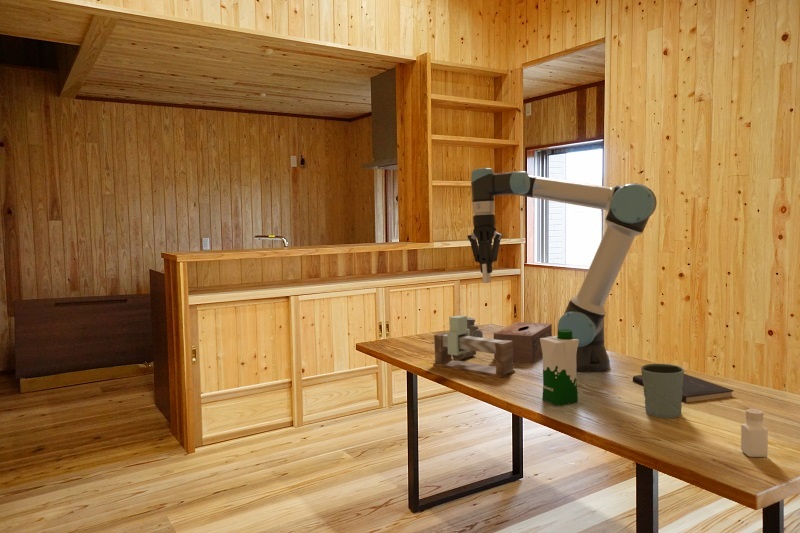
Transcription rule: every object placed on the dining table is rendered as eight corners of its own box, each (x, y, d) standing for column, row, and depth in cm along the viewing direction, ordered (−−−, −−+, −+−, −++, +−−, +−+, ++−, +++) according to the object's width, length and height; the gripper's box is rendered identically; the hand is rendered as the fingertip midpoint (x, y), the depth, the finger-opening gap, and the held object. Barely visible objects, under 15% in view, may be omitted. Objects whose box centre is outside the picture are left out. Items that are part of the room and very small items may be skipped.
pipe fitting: (452, 339, 256) (455, 316, 254) (467, 338, 260) (469, 315, 259) (469, 346, 246) (472, 322, 244) (484, 345, 250) (487, 322, 248)
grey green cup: (692, 416, 150) (692, 370, 149) (660, 421, 147) (659, 374, 146) (664, 405, 160) (664, 361, 159) (633, 409, 157) (632, 365, 156)
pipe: (463, 338, 236) (440, 337, 232) (482, 346, 220) (458, 344, 217) (461, 354, 236) (438, 353, 233) (480, 362, 220) (456, 361, 217)
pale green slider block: (470, 351, 211) (469, 315, 210) (456, 355, 205) (455, 318, 204) (461, 349, 213) (460, 314, 212) (447, 354, 207) (446, 317, 206)
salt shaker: (739, 450, 128) (740, 408, 127) (759, 450, 127) (759, 408, 127) (748, 458, 124) (749, 414, 123) (768, 458, 123) (769, 414, 123)
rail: (514, 372, 199) (514, 339, 198) (502, 377, 193) (501, 343, 192) (446, 361, 218) (445, 331, 217) (433, 365, 212) (432, 334, 211)
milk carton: (583, 402, 164) (582, 332, 163) (556, 407, 161) (555, 335, 159) (562, 394, 172) (561, 327, 171) (537, 399, 169) (535, 330, 167)
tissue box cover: (532, 363, 211) (531, 336, 210) (494, 359, 218) (493, 333, 218) (552, 348, 233) (551, 323, 232) (517, 346, 241) (516, 321, 240)
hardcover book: (676, 377, 187) (676, 370, 187) (733, 398, 165) (733, 390, 165) (632, 383, 183) (632, 375, 183) (685, 404, 161) (685, 396, 161)
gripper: (461, 215, 202) (465, 283, 204) (494, 213, 194) (497, 284, 196) (473, 215, 208) (476, 281, 210) (506, 212, 200) (508, 281, 201)
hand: (486, 282), depth 203 cm, fingers closed
